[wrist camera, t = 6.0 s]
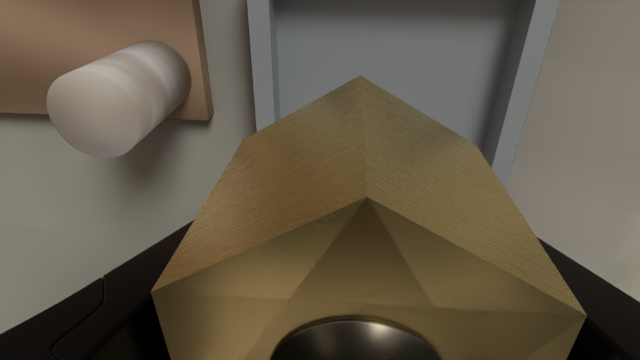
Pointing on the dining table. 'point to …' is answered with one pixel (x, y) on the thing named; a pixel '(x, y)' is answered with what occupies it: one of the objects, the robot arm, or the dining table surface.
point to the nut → (362, 248)
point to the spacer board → (88, 41)
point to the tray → (407, 60)
